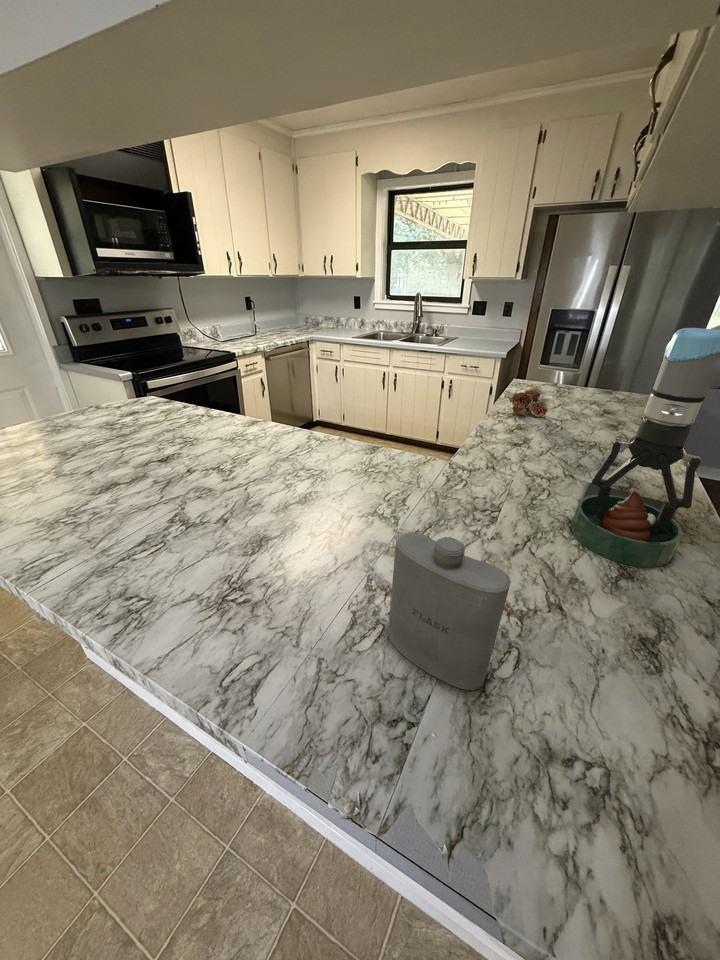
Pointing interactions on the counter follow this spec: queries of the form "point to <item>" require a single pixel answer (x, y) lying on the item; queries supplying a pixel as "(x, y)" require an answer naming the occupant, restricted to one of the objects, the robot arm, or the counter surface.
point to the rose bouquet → (529, 402)
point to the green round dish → (621, 547)
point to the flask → (445, 608)
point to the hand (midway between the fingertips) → (626, 523)
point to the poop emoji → (629, 519)
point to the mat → (622, 495)
